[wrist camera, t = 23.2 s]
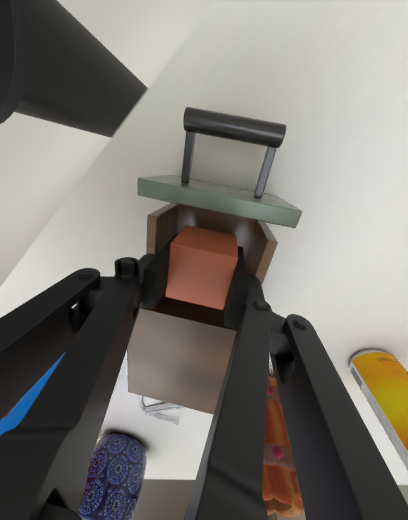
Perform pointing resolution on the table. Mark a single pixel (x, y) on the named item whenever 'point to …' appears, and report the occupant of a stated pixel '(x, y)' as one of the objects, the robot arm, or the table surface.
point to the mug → (279, 461)
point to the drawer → (219, 200)
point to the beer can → (385, 393)
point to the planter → (113, 479)
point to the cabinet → (178, 357)
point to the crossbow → (159, 408)
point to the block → (201, 266)
